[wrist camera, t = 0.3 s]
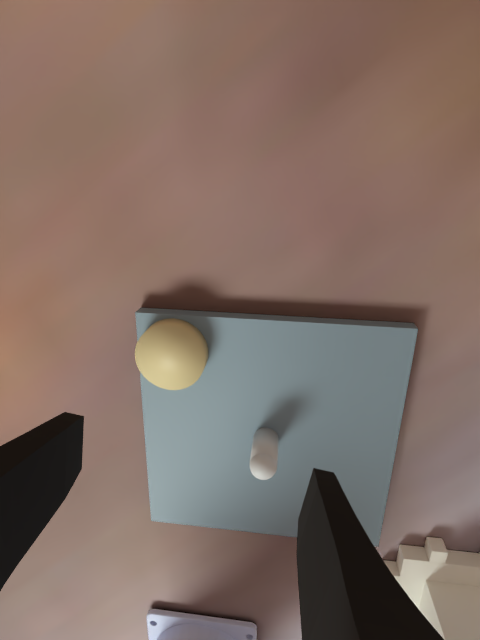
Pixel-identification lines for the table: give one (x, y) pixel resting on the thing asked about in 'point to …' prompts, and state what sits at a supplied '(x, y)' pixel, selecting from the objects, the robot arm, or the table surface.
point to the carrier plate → (268, 414)
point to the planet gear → (442, 586)
